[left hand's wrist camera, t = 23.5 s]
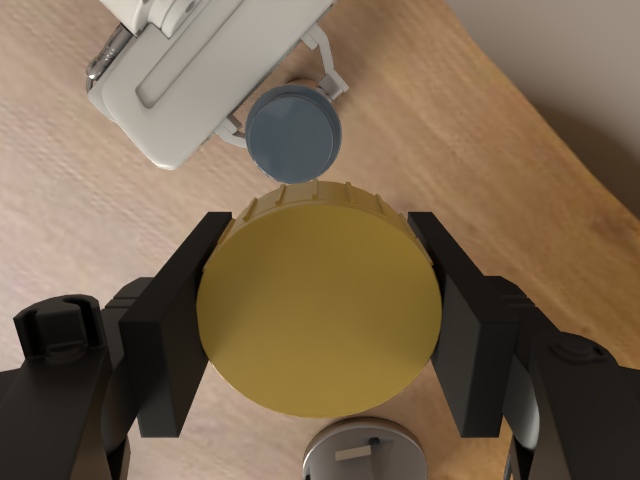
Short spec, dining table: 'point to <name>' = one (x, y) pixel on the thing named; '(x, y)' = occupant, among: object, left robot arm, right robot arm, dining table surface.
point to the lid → (319, 301)
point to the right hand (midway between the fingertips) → (309, 126)
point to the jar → (294, 132)
